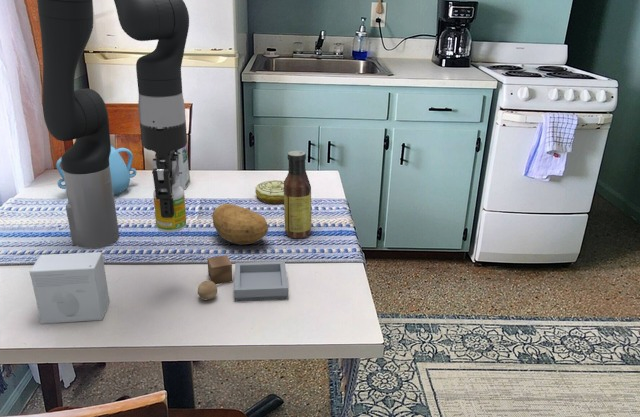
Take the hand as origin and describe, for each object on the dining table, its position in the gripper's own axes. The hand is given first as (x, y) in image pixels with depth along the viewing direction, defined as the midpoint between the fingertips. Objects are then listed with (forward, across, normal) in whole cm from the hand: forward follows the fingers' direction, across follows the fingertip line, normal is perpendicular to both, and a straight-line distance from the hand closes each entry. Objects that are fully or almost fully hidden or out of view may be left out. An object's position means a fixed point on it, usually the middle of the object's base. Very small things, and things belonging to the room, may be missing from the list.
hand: (170, 209), depth 99 cm
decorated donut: (+17, -43, +21) cm, 51 cm away
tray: (+16, +1, +16) cm, 23 cm away
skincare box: (+17, +7, -17) cm, 25 cm away
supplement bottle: (+4, 0, 0) cm, 4 cm away
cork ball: (+15, +5, +6) cm, 17 cm away
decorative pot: (+17, -49, -26) cm, 58 cm away
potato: (+17, -18, +12) cm, 27 cm away
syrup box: (+17, -52, -6) cm, 55 cm away
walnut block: (+17, -2, +8) cm, 19 cm away
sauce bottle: (+17, -21, +25) cm, 37 cm away
